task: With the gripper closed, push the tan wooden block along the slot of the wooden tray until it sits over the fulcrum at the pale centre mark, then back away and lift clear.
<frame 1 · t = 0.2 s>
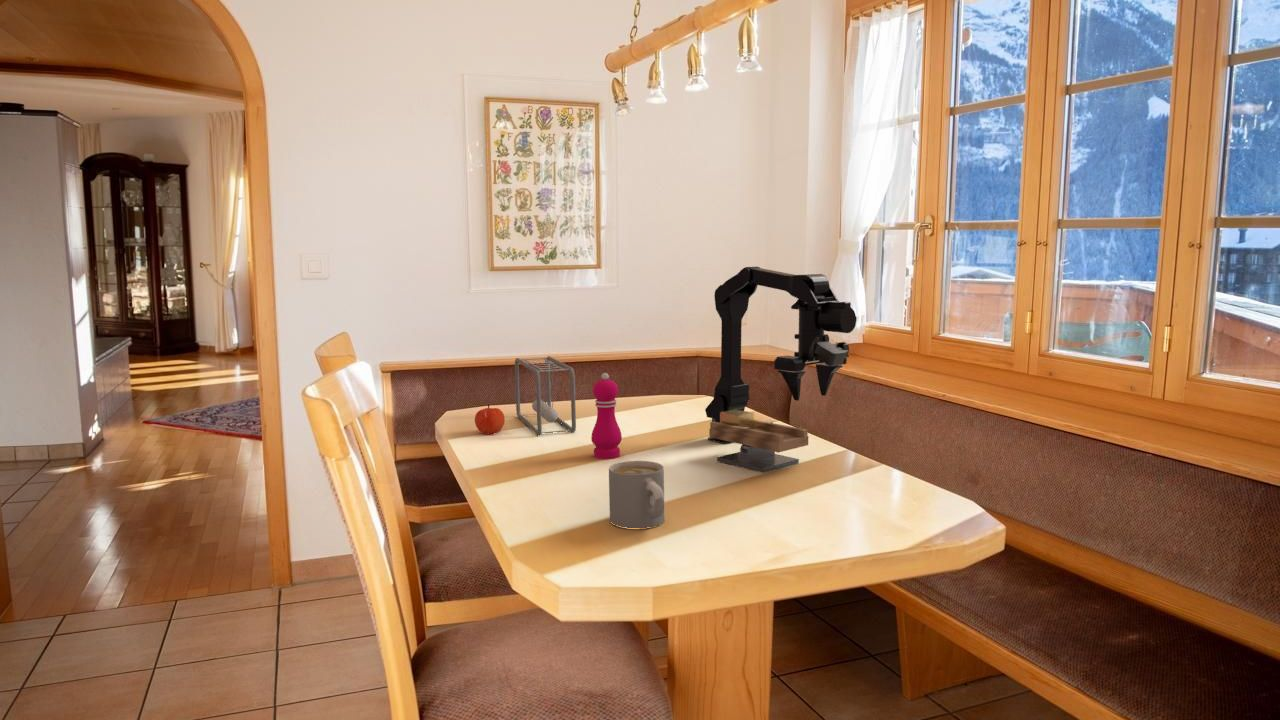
hand: (810, 397, 198), 14 cm above the table, tool pointing down, fingers open, 9 cm apart
tan wooden block: (736, 419, 202), point 9 cm above the table, slide at -6.5 cm
pepper mill: (607, 456, 206), on the table
newton's cradle: (544, 425, 244), on the table
apple: (490, 434, 234), on the table
coffee mug: (640, 524, 156), on the table
wooden tray: (757, 433, 197), on the fulcrum stand, point 7 cm above the table
fulcrum stand: (757, 462, 198), on the table
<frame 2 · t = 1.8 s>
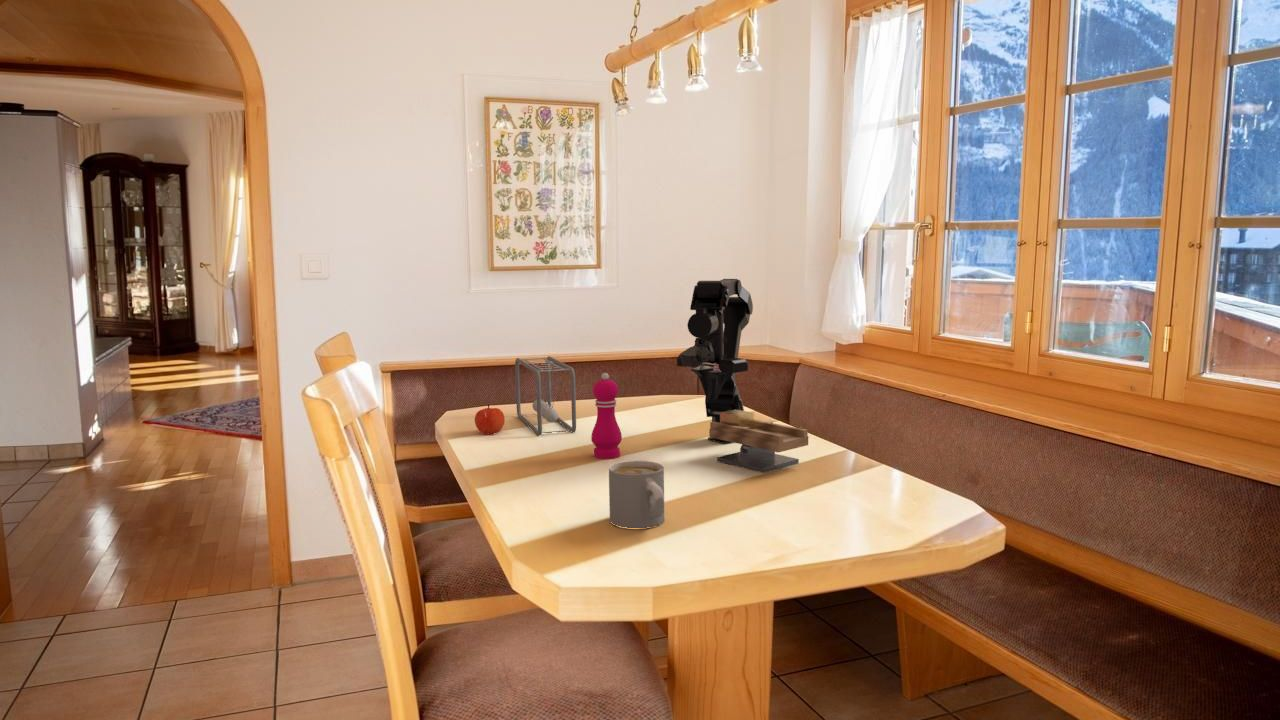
hand: (711, 398, 207), 13 cm above the table, tool pointing down, fingers closed
nothing on the table moved.
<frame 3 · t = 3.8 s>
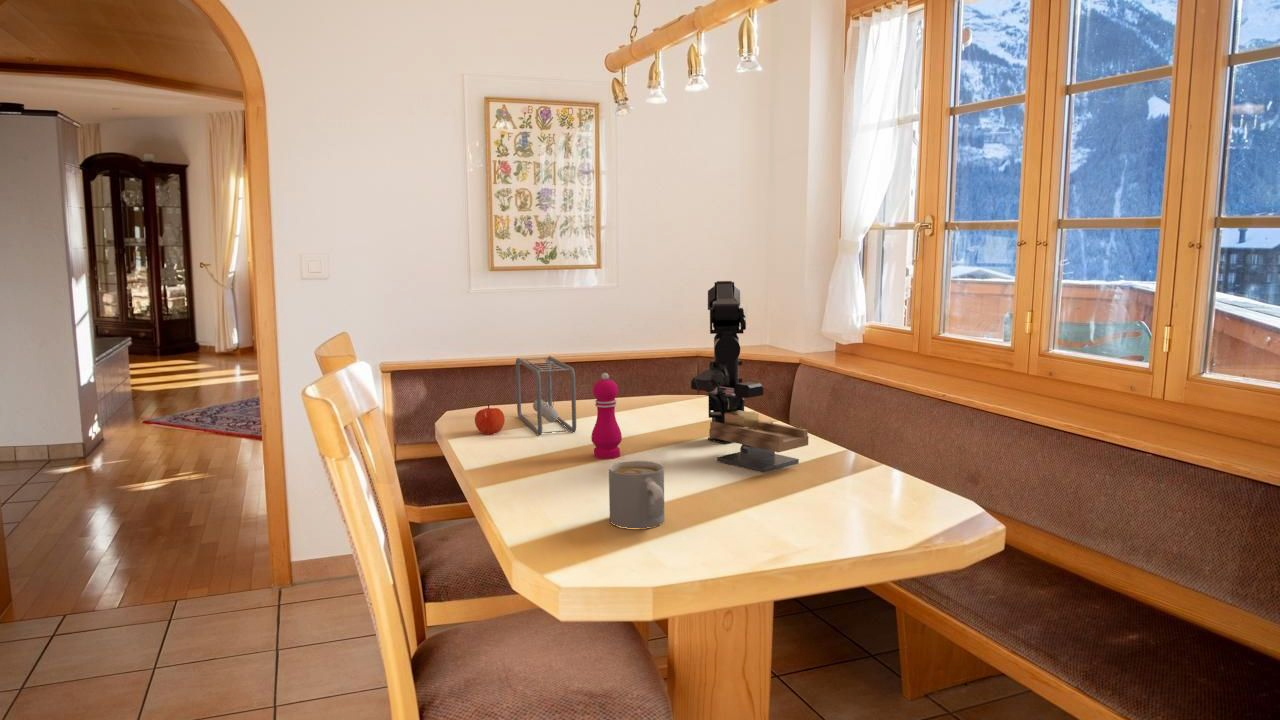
hand: (726, 422, 204), 8 cm above the table, tool pointing down, fingers closed
tan wooden block: (741, 420, 201), point 9 cm above the table, slide at -5.0 cm, touching gripper
everything else where it was.
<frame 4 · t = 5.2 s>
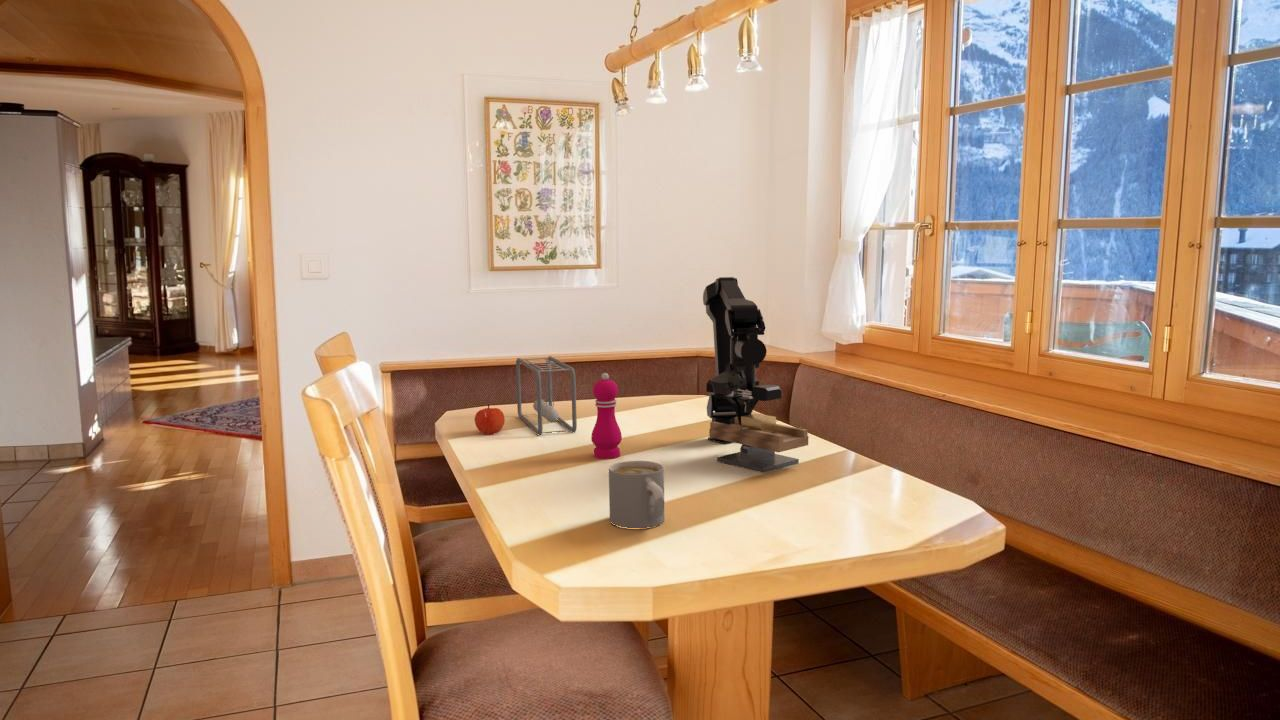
hand: (742, 425, 200), 8 cm above the table, tool pointing down, fingers closed
tan wooden block: (758, 424, 197), point 9 cm above the table, slide at 0.2 cm, touching gripper
everything else where it was.
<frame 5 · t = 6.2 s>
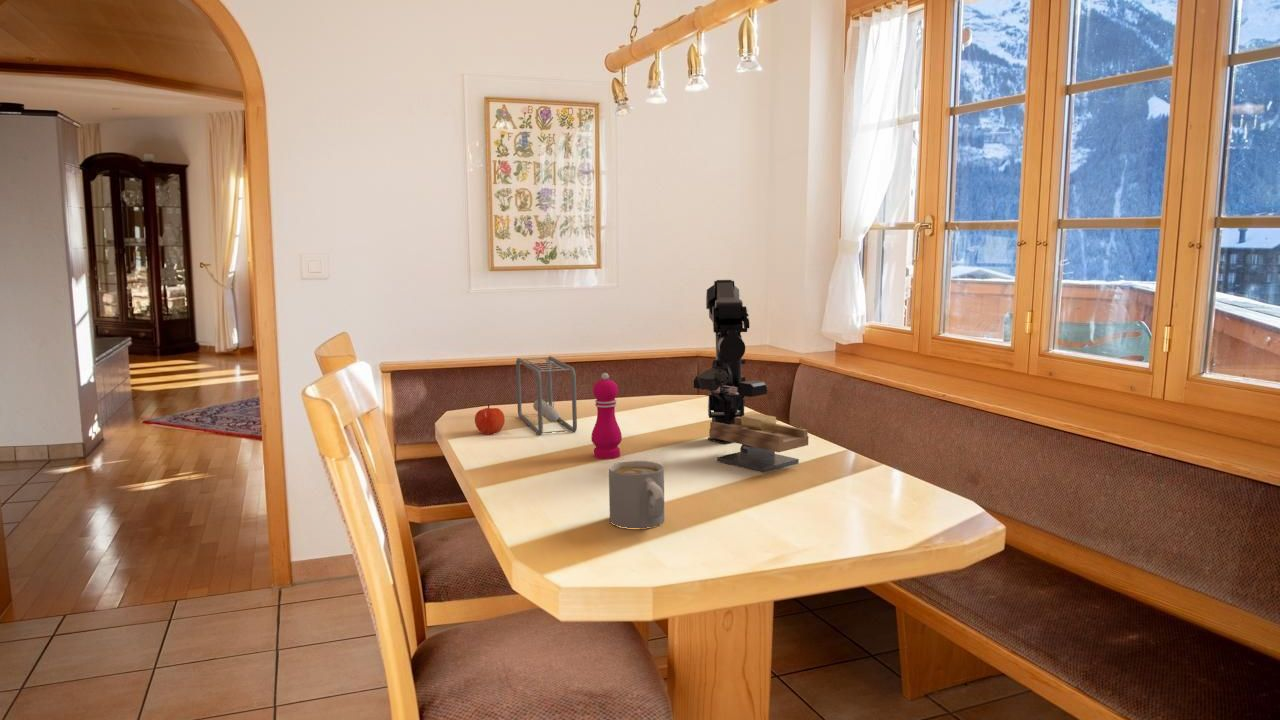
hand: (729, 421, 204), 8 cm above the table, tool pointing down, fingers closed
tan wooden block: (758, 424, 197), point 9 cm above the table, slide at 0.2 cm
everything else where it was.
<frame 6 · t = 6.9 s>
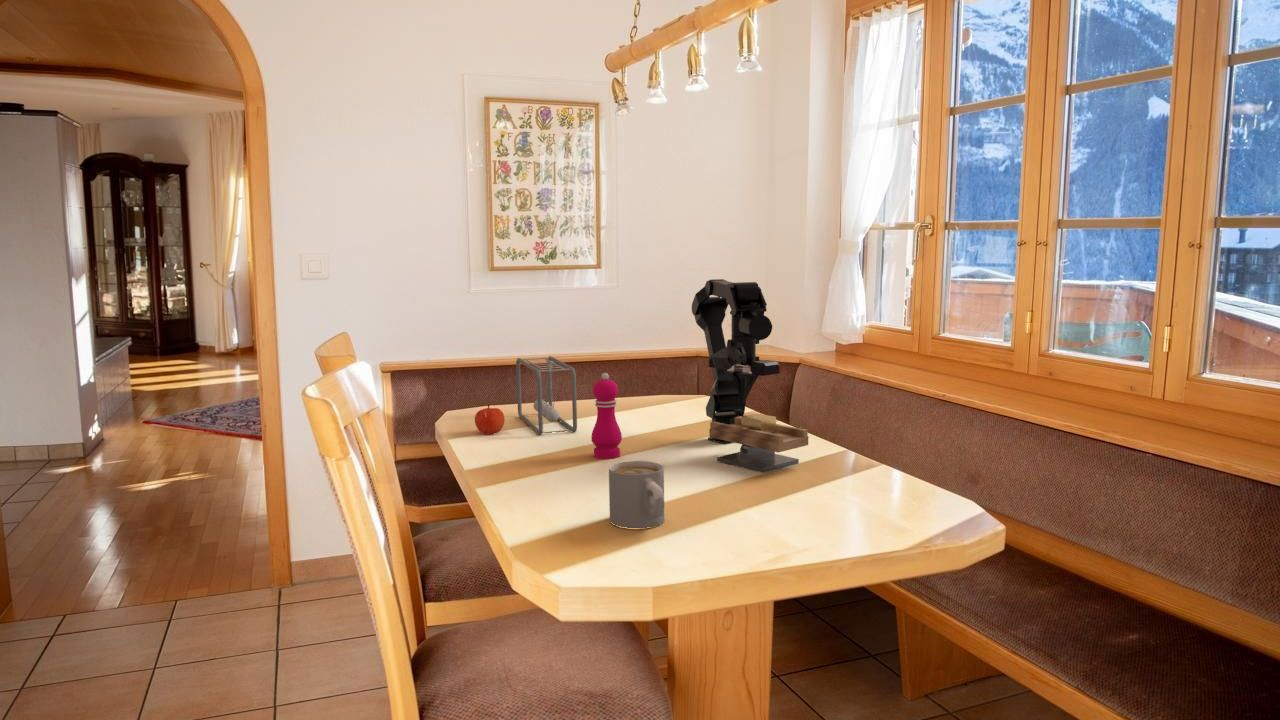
hand: (743, 400, 207), 12 cm above the table, tool pointing down, fingers closed
nothing on the table moved.
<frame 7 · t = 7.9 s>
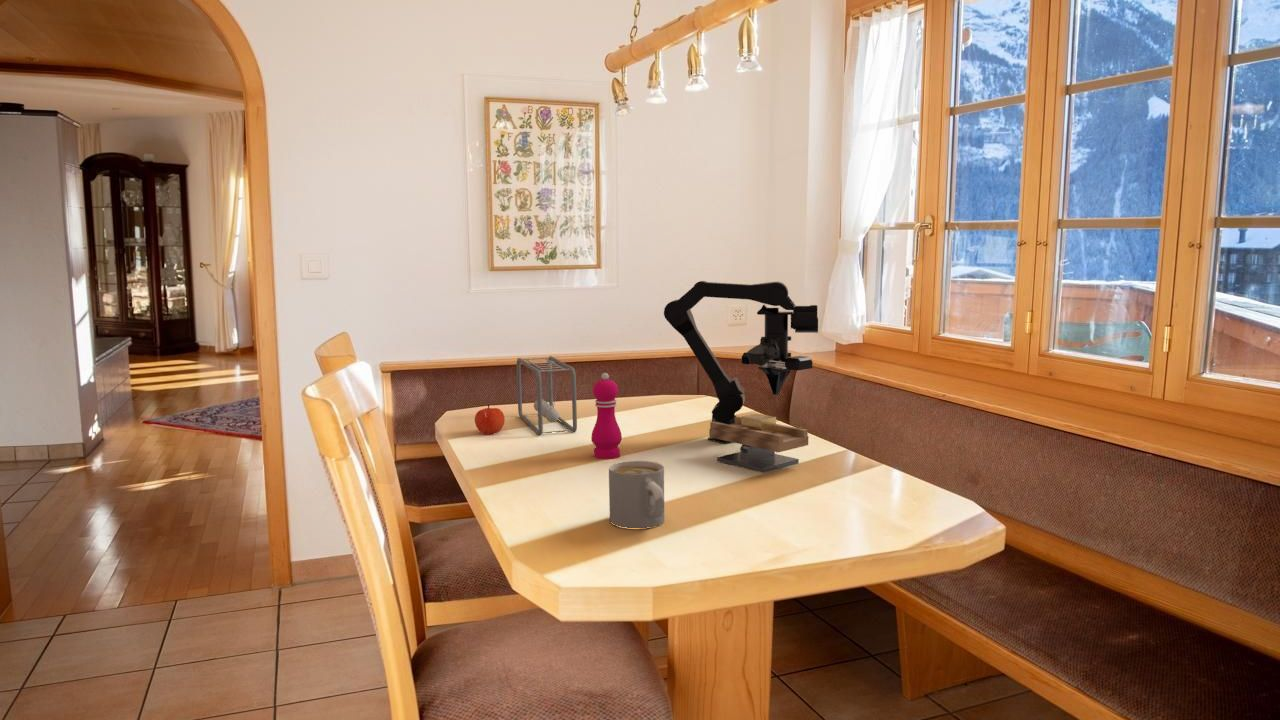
hand: (775, 394, 217), 12 cm above the table, tool pointing down, fingers closed
nothing on the table moved.
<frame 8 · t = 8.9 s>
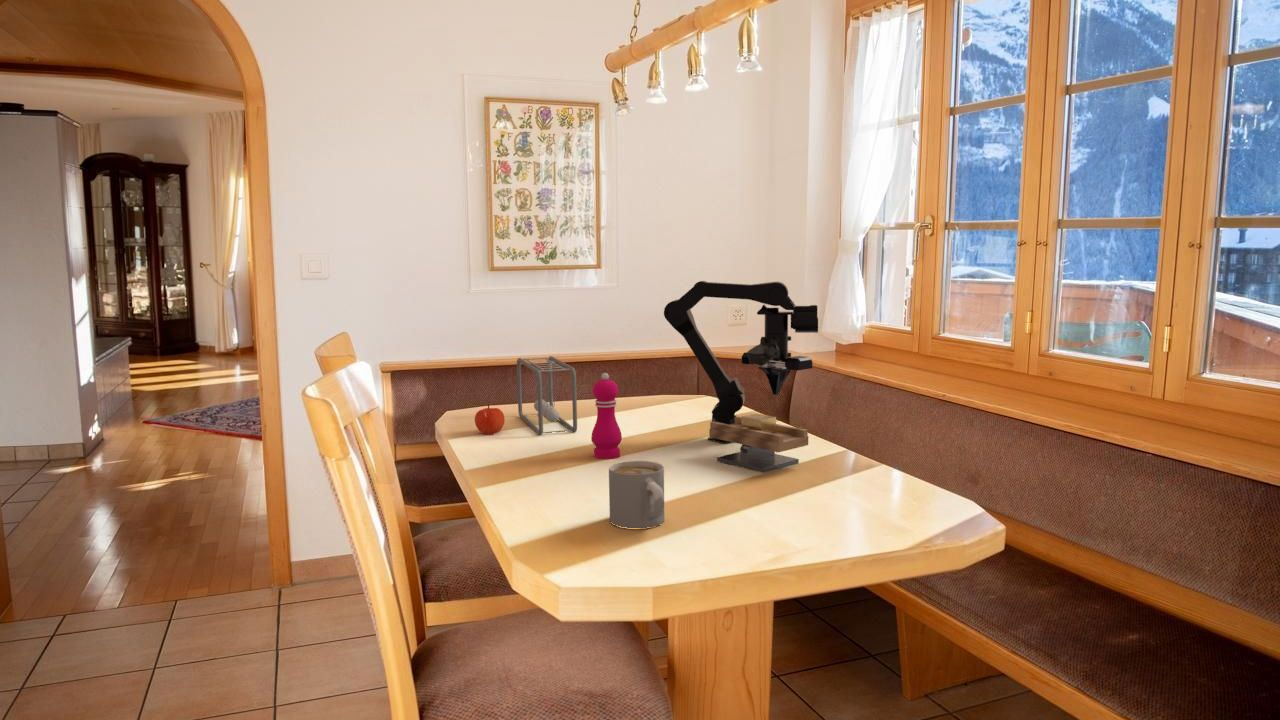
hand: (775, 394, 217), 12 cm above the table, tool pointing down, fingers closed
nothing on the table moved.
at the end: tan wooden block slide at 0.2 cm; the gripper is holding nothing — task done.
